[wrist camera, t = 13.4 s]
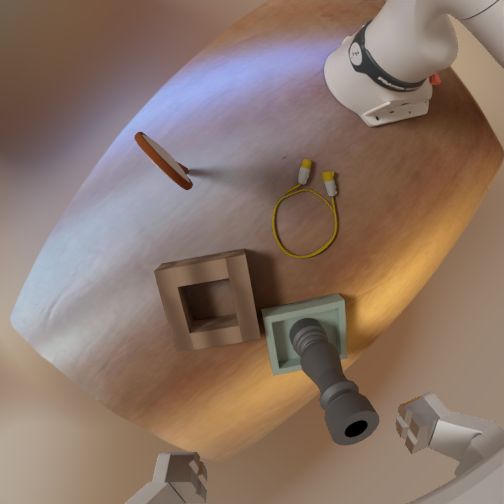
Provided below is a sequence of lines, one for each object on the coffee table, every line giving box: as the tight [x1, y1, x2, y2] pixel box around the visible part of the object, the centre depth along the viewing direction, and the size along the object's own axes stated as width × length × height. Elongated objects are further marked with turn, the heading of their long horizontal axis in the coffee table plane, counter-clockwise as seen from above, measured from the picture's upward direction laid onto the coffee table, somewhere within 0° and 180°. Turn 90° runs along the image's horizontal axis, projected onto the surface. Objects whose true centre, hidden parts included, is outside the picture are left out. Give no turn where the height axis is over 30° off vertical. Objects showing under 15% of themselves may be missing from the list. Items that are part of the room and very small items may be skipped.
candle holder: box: [289, 318, 379, 445], centre depth 38 cm, size 6×6×25 cm
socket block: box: [154, 249, 261, 352], centre depth 46 cm, size 14×14×5 cm
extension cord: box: [272, 159, 338, 258], centre depth 47 cm, size 12×16×2 cm
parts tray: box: [261, 293, 347, 376], centre depth 49 cm, size 14×12×4 cm
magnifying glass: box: [135, 132, 193, 190], centre depth 35 cm, size 9×2×20 cm, turn 42°
